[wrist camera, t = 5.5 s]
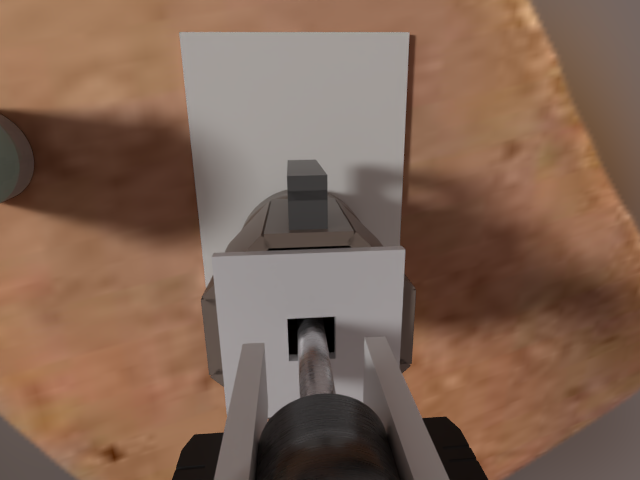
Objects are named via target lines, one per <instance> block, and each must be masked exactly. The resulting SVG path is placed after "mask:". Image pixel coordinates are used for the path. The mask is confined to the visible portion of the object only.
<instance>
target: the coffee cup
mask: <svg viewBox="0 0 640 480" xmlns="http://www.w3.org/2000/svg"><path fill="white" fill-rule="evenodd" d="M33 171H34V157H33V152H32V149H31V146H30V144H29V142H28V140H27V138H26V137H25V135H24V134H23V133H22V131H21V130H20V129H19V128H18V127H17V126H16V125H15V124H14V123H13V122H12V121H10V120H9V119H7V118H6V117H4V116H3V115H1V114H0V203H2V202H4V201H6V200H8V199H10V198H12V197H14V196H16V195H18V194H19V193H21V192H22V191H23V190H24V189H25V188H26V187H27V186H28V184H29V182H30V181H31V178H32V175H33Z"/></svg>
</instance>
